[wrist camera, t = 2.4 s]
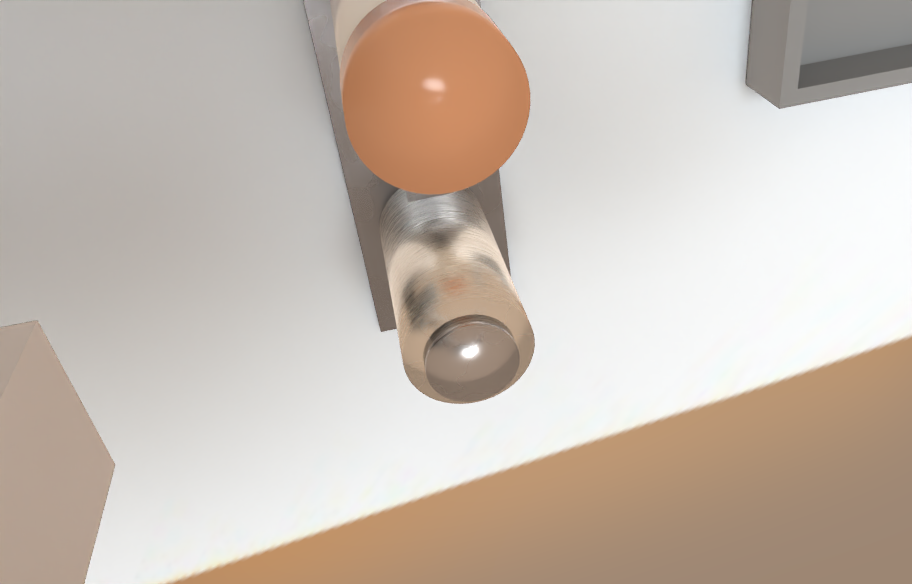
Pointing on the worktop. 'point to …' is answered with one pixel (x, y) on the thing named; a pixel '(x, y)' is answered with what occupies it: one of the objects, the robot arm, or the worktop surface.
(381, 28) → the cylinder
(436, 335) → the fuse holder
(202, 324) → the worktop surface
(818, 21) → the tray
